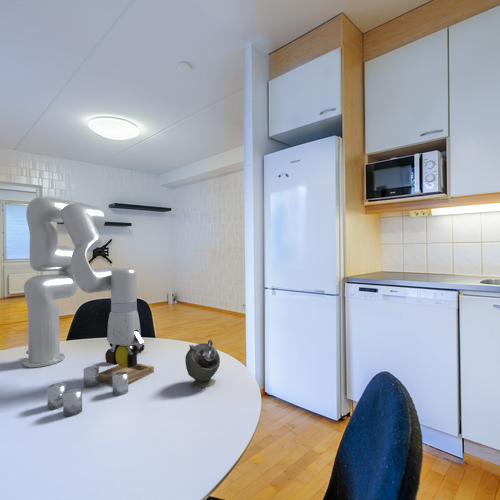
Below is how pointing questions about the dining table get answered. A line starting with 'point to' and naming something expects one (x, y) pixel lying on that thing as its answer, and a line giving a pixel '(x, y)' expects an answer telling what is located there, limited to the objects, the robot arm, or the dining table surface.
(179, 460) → the dining table surface
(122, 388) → the cylinder
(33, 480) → the dining table surface
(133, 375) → the tray
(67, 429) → the dining table surface
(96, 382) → the cylinder
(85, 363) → the dining table surface
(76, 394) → the cylinder
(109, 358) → the bolt
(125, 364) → the lemon
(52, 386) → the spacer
